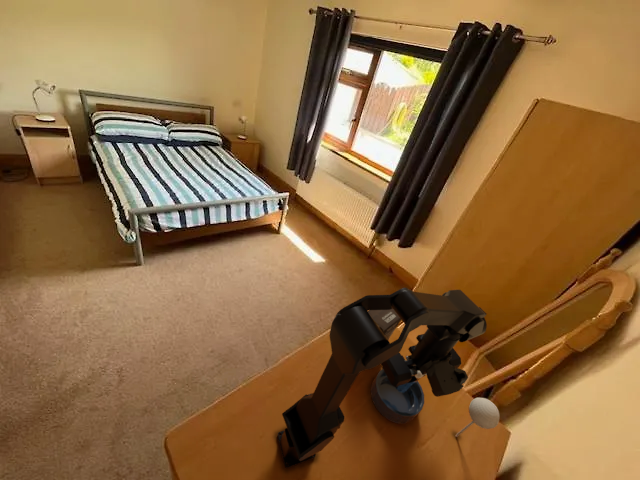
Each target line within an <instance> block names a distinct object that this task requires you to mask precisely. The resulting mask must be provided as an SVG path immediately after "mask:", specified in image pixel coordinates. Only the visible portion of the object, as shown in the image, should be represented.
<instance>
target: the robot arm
mask: <svg viewBox="0 0 640 480" xmlns="http://www.w3.org/2000/svg"><path fill="white" fill-rule="evenodd" d="M390 309H393V310H394V311H395V312H396V313H397V315H398V316H399V317H400V319H401V322H403V324H404V326H403V328H402V330H401V332H400V334H399V336H398V338H397V339H396V340H393V341H392V342H390V340H388V339H387V338H386V336H385V335H384V334H383V332H382V331H381V329H380V328H379V327H378V325H377V324H376V323H375V321H374V320H373V318H372V317H371V316H370V314H369V313H368V311H369V310H390ZM486 316H487V312H485V311H484V310H483V308H481V307H480V306H478V305H477V304H476V303H475V302H474V301H473V300H472V299H471V298H470V297H469V296H468V295H467V294H466V293H465V292H463V290H461V289H450V290H448V291H447V292H443V294H433V293H427V292H419V291H414V290H413V289H409V288H408V287H402V288H400V289H398V290H396V291H394V292H393V293H391V294H368V295H365V296H362V297H361V298H358V299H357V300H355V301H353V302H351V303H349V304H347V305H345V306H344V307H343V308H342V307H341V309H339V310H338V311H337V312H336V314H335V316H334V318H333V319H332V322H331V325H330V330H329V331H330V332H329V342H330V348H331V349H330V350H331V355H330V357H329V359H328V361H327V363H326V365H325V367H324V370H323V371H322V373H321V376H320V378H319V381H318V383H317V385H316V387H315V389H314V391H313V392H312V393H309V394H304V395H303V396H302V397H301V398H300V399H299V400H297V401H296V402H294V404H292V405H291V406H290V407H288V408H287V409H286V410H285V411H284V412H283V411H282V413H281V415H282V419H283V421H284V424H285V426H286V427H285V428H284V430H281V431H278V432H277V434H276V435H277V440H278V444H279V448H280V453H281V457H282V462H283V466H284V468H286V469H289V468H292V467H293V466H297V465H299V464H302V463H305V462H308V461H311V460H313V459H315V458H316V454H317V453H320V452H321V451H323V450H324V449H325V448H326V447H327V446H328V445H329V444H330V443H331V442H332V441H333V440H334V438H335V434H336V433H337V432H338V430H339V429H341V425H342V424H343V423H344V422H345V414H344V413H343V411H342V408H341V405H342V403H343V401H344V400H345V398H346V396H347V394H348V393H349V391H350V389H351V388H352V386H353V384H354V382H355V381H356V379H357V378H358V376H359V374H360V373H361V372H363V371H366V370H372V369H374V368H376V367H378V366H379V365H380V366H381V368H382V369H384V371H385V373H386V375H387V377H388V379H389V380H390V382H391V384H392V385H393V386H395V387H396V386H399V385H403V384H406V383H411V382H414V381H418V382H419V380H417V378H416V377H415V375H417V373H418V371H419V370H420V372H421V373H422V375H424V374H426V373H427V375H424V376H423V377H426V378H427V380H428V383H429V386H430V388H431V392H432V395H433V396H435V397H437V398H439V397H443V396H448V395H449V396H450V395H452V394H455V393H457V392H460V391H461V390H462V389H463V388H464V387H465V386H464V385H463V384H465V383H466V382H467V380H468V379H469V376H468V374H467V371H466V370H464V369H461V368H459V367H460V366H461V365H462V357H460V355H459V354H458V353H457V351H456V349H455V348H454V347H455V346H456V345H457V344H458V342H459V343H465V342H468V341H471V340H472V339H475V338H477V337H479V336H481V335H484V334H485V333H486V331H487V327H488V325H487V320H486V318H485V317H486ZM421 326H426V328H427V329H426V331H424V333H421V334H418V335H416V337H415V339H416V340H417V343H416V344H415V345H410V346H409V347H408V348H407V349H408V351H409V353H410V355H406V356H405V357H404V355H402V354H401V351H402V348H403V347H404V344H405V342H406V340H407V338H408V336H409V334H410V333H411V332H412V331H415V330H416V329H417V328H419V327H421ZM423 377H422V378H423Z"/></svg>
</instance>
